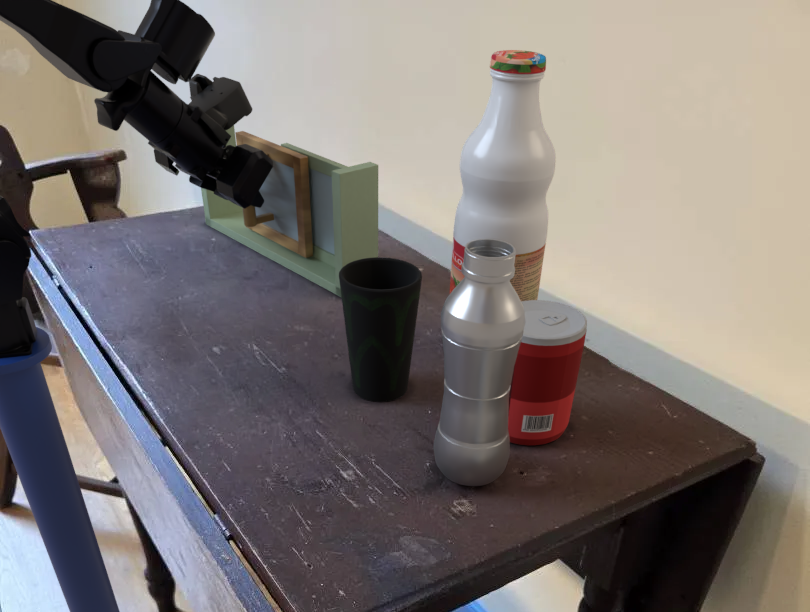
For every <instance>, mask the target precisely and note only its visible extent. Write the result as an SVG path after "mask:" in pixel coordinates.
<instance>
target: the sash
mask: <svg viewBox="0 0 810 612" xmlns="http://www.w3.org/2000/svg"><path fill="white" fill-rule="evenodd" d="M235 139H236V146H237V145H242V144H247V145H250V146H252V147H255V148H257V149H260V150H262V151H263V152H264V153H265V154H266V155H267V156H268V157H269V158H271V159H272V160H273V168H272V169H271V171H270V173H269V174H268V176H267V178H266V180H265V181H264V183H263V185H262V186H261V188H260V190H259V192H260V193H261V195H262V197H263V199H264V203H263V205H262V207H261V208H258V207H255V206H251V205H250V206H249V207H247V208H245V209H244V208H243V217H244V225H245V226H246V227H247V228H249V229H251V230H253V231H255V232H257V233H259V234H260V235H262V236H264V237H266V238H268V239H270V240H272V241H274V242H276V243H278V244H280V245H282V246H284V247H286V248H288V249H290V250H291V251H293V252H295V253H297V254H299V255H301V256H303V257H305V258H308V257H311V256H313V245H312V226H311V208H310V189H309V171H308V157H307V156H305V155H302V154H300V153H297V152H295V151H292V150H290V149H287V148H285V147H282V146H281V144H280V145H279V144H277V143H274V142H272V141H269V140H267V139H264V138H262V137H259V136H257V135H255V134H252V133H249V132H246V131H245V130H240V131H235Z"/></svg>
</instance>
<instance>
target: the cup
mask: <svg viewBox="0 0 810 612" xmlns="http://www.w3.org/2000/svg"><path fill="white" fill-rule="evenodd" d="M422 279H423V273H422V271H421V270H420V269H419V267H417V266H416V265H414V264H413V263H411V262H408V261H406V260H402V259H399V258H393V257H383V256H382V257H381V256H380V257H379V256H378V257H376V258H365V259H360V260H356V261H353V262H350V263H348V264H346V265H345V266H344V267H342V269H341V270H340V272H339V281H340V289H341V297H342V298H341V297H340V298H341V304H342V311H343V319H344V327H345V335H346V344H347V352H348V361H349V366H350V368H349V369H350V377H351V383H352V390H353V392H354V394H355V395H356V396H357V397H358V398H360V399H363V400H365V401H369V402H373V403H388V402H392V401H396V400H399V399H400V398H402V397H404V395H406V393H407V392H408V386H409V379H410V372H411V364H412V357H413V356H412V355H413V349H414V342H415V334H416V326H417V319H418V311H419V304H420V298H421V297H420V296H421V288H422Z"/></svg>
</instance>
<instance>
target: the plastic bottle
mask: <svg viewBox="0 0 810 612" xmlns="http://www.w3.org/2000/svg"><path fill="white" fill-rule="evenodd" d="M515 251H516V249H515V247H514V246H513V245H511V244H509V243H507V242H504V241H501V240H495V239H477V240H473V241H470V242H468V243H467V244H466V246H465V251H464V262H463V263H462V269H461V271H462V274H463V275H464V276H465V277H464V279H463V280H462V281H461V282H460V283H459V284H458V285H457V286H456V287H455V288H454V289H453V291H452V292H451V293H450V292H449V294H450V295H449V294H448V296H447V297H446V299H445V300H444V302H443V306H442V309H441V312H440V329H441V339H442V349H443V378H444V379H443V396H442V404H441V409H440V415H439V421H438V424H437V427H436V431H435V434H434V440H433V444H432V445H433V446H432V447H433V454H434V461H435V465H436V466H437V468H438V469H439V471H440V472H441V474H443V476H444V477H445V478H446V479H448V480H449V481H451V482H453V483H456V484H458V485H460V486H461V485H462V486H468V487H481V486H487V485H489V484H492V483H493V482H494V481H495V482H496V480H497V479H499V478H500V477H501V475H502V474H504V472H505V470H506V468H507V464H508V461H509V460H510V456H511V442H510V438H509V431H508V408H509V392H510V387H511V385H510V384H511V381H512V375H513V370H514V365H515V361H516V358H517V354H518V351H519V347H520V344H521V340H522V336H523V333H524V327H525V322H526V319H525V313H524V308H523V305H522V303H521V301H520V299H519V296H518V294H517V293H516V291H515V289H514V288H513V286H512V285H511V283H510V279H512V278H513V277H514V273H515V267H514V263H515V255H516V252H515Z"/></svg>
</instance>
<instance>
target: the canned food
mask: <svg viewBox="0 0 810 612" xmlns="http://www.w3.org/2000/svg"><path fill="white" fill-rule="evenodd" d="M521 303H522V305H523V308H524V313H525V319H526V322H525V327H524V333H523V336H522V340H521V344H520V347H519V351H518V354H517V358H516V361H515V365H514V370H513V375H512V381H511V384H510V385H511V387H510V392H509V408H508V431H509V438H510V444H511V443H512V444H514V445H520V446H541V445H547V444H548V443H552V442H554V441H557V440H558V439H559V438H561V436H562V435H563V434H564V432H566V429H567V427H568V425H569V422H570V418H571V414H572V413H571V412H572V408H573V402H574V398H575V393H576V388H577V382H578V377H579V372H580V368H581V362H582V357H583V352H584V347H585V343H586V336H587V331H588V328H587V327H588V319H587V317H586V316H585V315H584V313H583V312H581V311H580V310H579V309H577V308H576V307H573V306H571V305H568V304H566V303H561V302H557V301H551V300H544V299H543V300H542V299H537V300H529V301H521Z"/></svg>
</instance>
